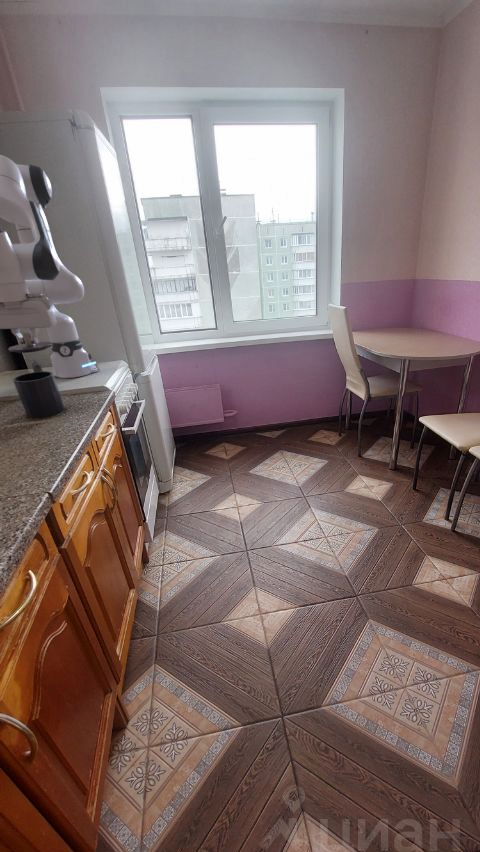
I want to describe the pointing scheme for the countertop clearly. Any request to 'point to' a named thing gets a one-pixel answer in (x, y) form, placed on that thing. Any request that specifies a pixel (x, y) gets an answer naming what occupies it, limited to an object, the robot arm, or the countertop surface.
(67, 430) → the countertop surface
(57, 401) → the canister
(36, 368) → the salt shaker
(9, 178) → the robot arm
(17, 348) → the lid
